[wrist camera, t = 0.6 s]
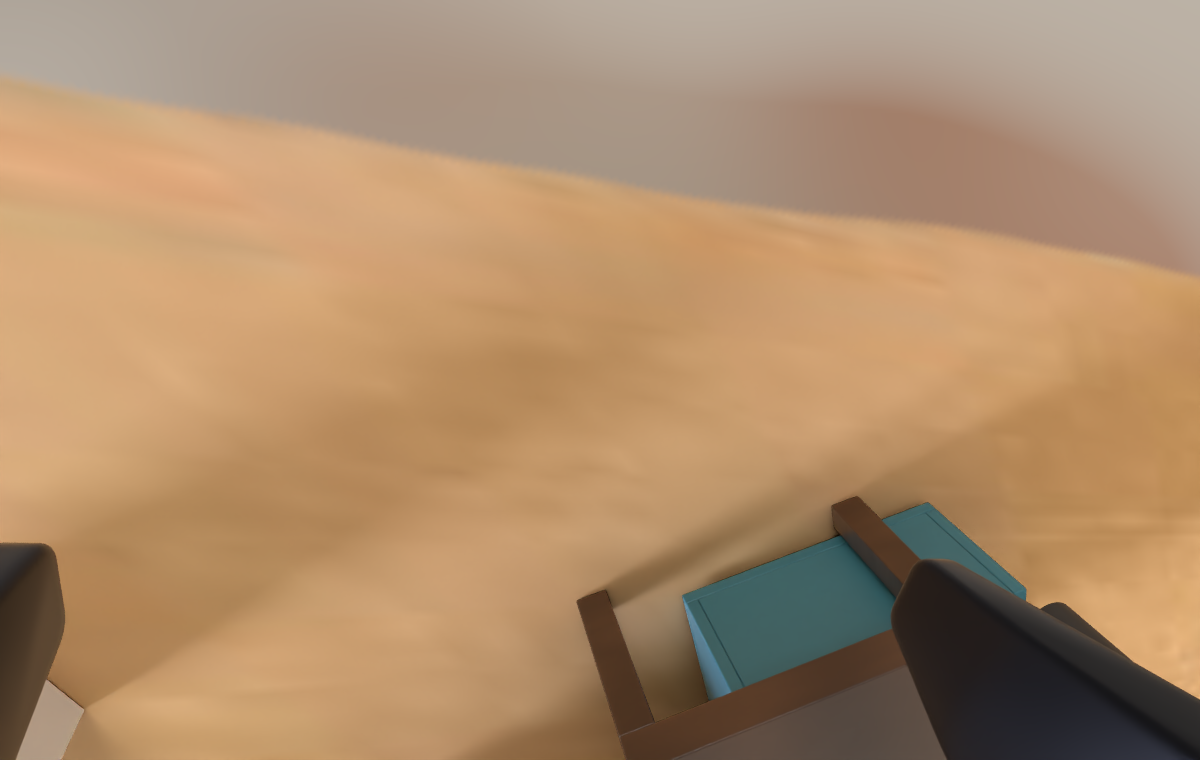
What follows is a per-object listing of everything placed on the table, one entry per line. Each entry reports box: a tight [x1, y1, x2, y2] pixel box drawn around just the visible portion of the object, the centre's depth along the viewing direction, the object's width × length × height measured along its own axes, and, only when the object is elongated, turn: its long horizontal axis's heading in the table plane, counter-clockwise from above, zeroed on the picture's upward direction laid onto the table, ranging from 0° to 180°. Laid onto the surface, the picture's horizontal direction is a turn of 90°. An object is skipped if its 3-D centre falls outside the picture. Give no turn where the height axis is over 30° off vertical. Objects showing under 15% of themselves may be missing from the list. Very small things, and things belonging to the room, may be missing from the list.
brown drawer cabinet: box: [577, 496, 947, 760], centre depth 28 cm, size 12×12×8 cm
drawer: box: [682, 503, 1133, 701], centre depth 27 cm, size 14×9×12 cm, turn 103°
